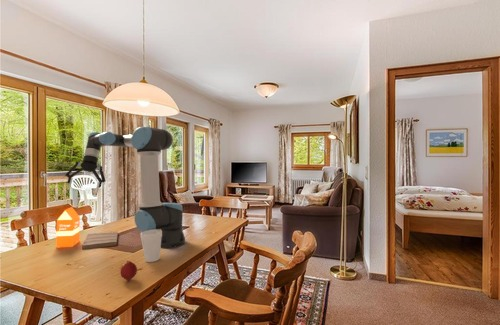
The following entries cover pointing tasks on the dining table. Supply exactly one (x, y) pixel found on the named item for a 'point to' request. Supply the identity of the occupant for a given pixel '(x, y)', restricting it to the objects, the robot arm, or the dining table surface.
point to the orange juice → (68, 228)
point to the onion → (128, 270)
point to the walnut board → (100, 240)
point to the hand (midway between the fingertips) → (82, 191)
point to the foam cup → (151, 244)
